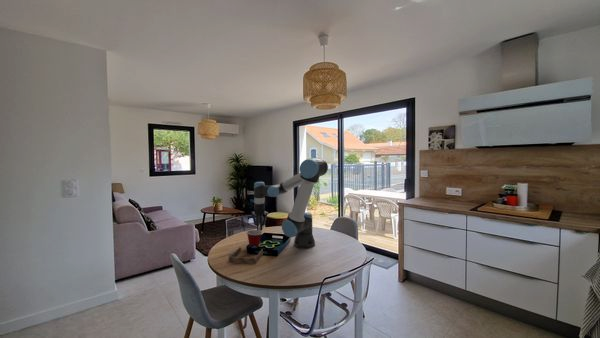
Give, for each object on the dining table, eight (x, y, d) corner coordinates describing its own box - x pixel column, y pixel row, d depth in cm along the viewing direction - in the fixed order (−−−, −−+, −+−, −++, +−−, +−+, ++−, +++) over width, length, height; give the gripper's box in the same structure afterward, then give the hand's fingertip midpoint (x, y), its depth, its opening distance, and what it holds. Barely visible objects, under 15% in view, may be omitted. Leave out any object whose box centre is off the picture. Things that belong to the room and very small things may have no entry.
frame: (263, 252, 162) (263, 248, 162) (255, 263, 146) (255, 258, 146) (239, 251, 165) (239, 247, 165) (229, 261, 149) (228, 257, 149)
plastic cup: (263, 250, 166) (263, 233, 166) (247, 252, 163) (247, 234, 162) (261, 245, 177) (261, 228, 176) (246, 246, 174) (245, 230, 173)
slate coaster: (237, 252, 164) (237, 251, 164) (236, 254, 160) (236, 253, 160) (231, 252, 164) (230, 251, 164) (229, 255, 159) (229, 254, 159)
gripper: (269, 202, 183) (269, 233, 184) (252, 201, 185) (253, 232, 186) (266, 204, 175) (266, 236, 177) (249, 203, 177) (249, 235, 179)
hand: (259, 234), depth 182 cm, fingers closed
